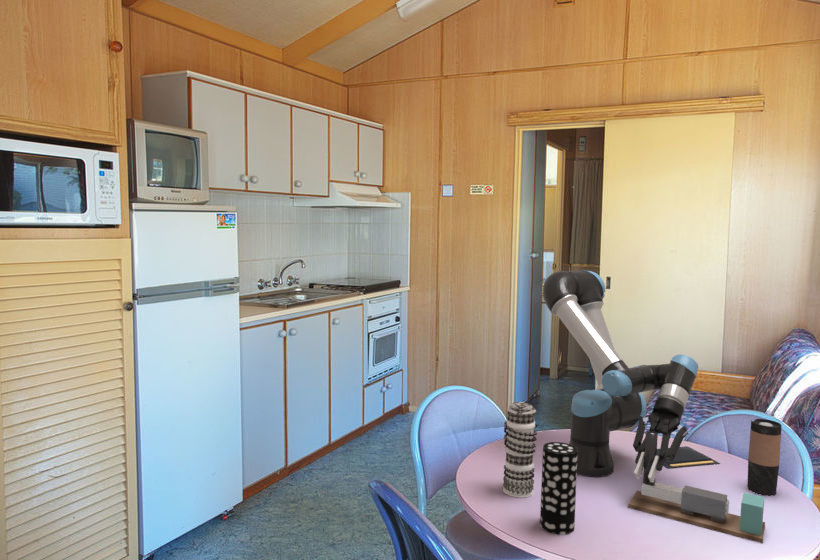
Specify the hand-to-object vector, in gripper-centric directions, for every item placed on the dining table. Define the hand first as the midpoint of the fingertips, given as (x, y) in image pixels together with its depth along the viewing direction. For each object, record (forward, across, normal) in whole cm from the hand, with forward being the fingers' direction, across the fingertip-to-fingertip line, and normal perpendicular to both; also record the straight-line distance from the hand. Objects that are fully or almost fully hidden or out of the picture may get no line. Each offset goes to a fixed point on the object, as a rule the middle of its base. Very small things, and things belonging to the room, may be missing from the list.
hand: (643, 477), depth 156 cm
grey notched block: (+2, -13, -10) cm, 17 cm away
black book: (-25, +6, -39) cm, 47 cm away
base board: (+2, -11, -10) cm, 15 cm away
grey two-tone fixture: (0, -9, -8) cm, 12 cm away
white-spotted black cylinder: (+24, +11, +11) cm, 28 cm away
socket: (0, -24, -12) cm, 27 cm away
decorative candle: (+17, +29, +4) cm, 34 cm away
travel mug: (-20, -20, -32) cm, 43 cm away
